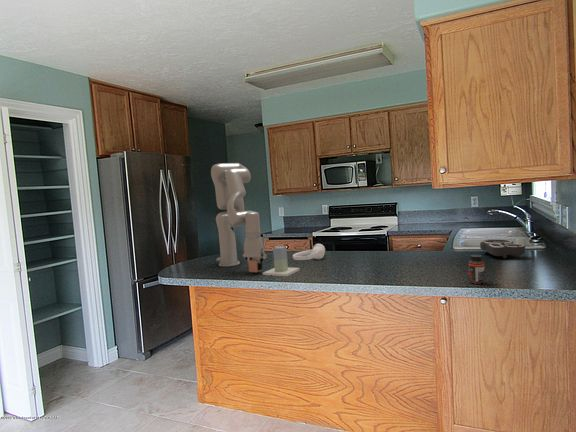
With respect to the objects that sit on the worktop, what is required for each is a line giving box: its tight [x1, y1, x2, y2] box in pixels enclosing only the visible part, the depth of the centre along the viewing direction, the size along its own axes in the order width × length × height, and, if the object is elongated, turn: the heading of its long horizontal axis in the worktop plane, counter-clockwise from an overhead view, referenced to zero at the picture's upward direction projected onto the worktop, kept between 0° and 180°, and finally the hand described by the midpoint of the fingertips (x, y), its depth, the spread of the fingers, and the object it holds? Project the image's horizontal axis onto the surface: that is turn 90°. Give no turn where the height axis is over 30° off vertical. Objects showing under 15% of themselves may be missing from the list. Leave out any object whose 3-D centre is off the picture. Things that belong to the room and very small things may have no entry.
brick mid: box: [272, 246, 288, 261], centre depth 209 cm, size 5×5×6 cm
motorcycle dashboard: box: [479, 238, 526, 260], centre depth 214 cm, size 26×16×7 cm, turn 174°
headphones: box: [292, 243, 326, 261], centre depth 245 cm, size 19×8×20 cm
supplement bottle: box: [468, 254, 486, 285], centre depth 165 cm, size 6×6×11 cm
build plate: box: [262, 257, 301, 277], centre depth 210 cm, size 14×14×7 cm
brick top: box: [247, 258, 262, 273], centre depth 213 cm, size 5×5×6 cm
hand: (255, 269), depth 213 cm, fingers closed on brick top, 5 cm apart
